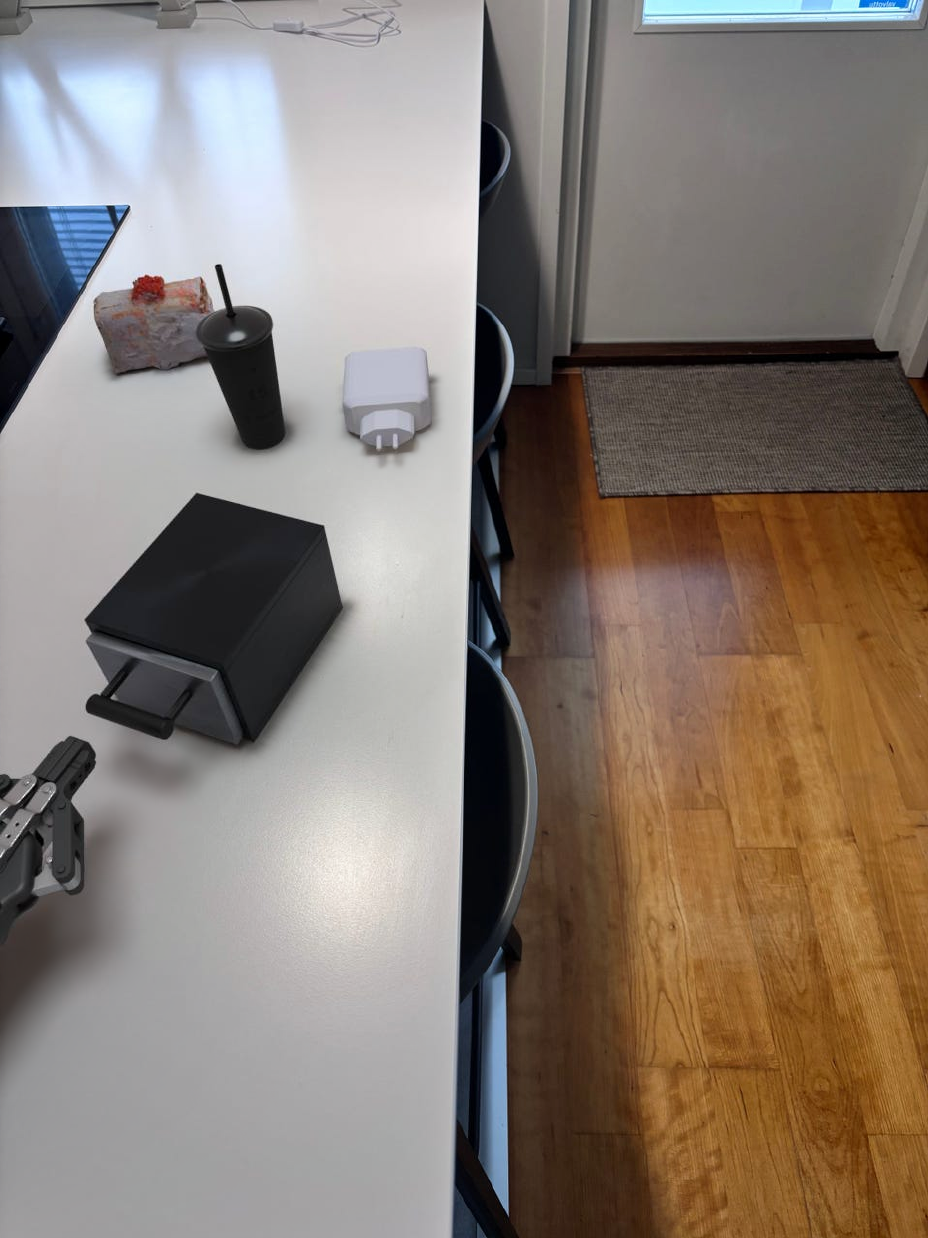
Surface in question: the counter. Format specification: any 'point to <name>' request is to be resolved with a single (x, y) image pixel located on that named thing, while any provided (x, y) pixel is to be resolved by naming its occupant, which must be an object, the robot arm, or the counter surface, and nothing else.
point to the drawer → (160, 691)
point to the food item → (153, 322)
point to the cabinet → (230, 599)
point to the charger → (386, 395)
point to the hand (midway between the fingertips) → (83, 745)
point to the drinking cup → (245, 368)
